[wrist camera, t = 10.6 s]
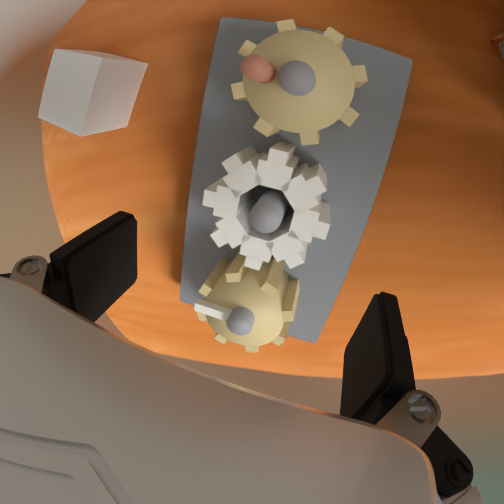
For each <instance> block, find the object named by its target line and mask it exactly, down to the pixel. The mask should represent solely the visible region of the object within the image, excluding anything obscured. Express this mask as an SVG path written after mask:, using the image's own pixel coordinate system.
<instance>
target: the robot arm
mask: <svg viewBox="0 0 504 504" xmlns="http://www.w3.org/2000/svg"><path fill="white" fill-rule="evenodd" d="M50 259H51V262H50V263H49V264H47V261H46V259H45V258H43V257H41V256H34V255H33V256H28V257H25V258H23V259H21V260H19V261H18V262H17V263H16V264H15V266H14V267H13V270H12V273H8V274H0V504H485V503H484V501H483V499H482V497H481V495H480V493H479V491H478V489H477V487H476V485H475V486H473V487H472V486H471V481H472V479H473V467H472V464H471V461H470V460H469V459H468V457H467V456H466V455H465V454H464V453H463V452H462V451H461V450H460V449H459V448H458V447H457V446H456V445H455V444H454V442H452V440H450V438H449V437H448V436H447V435H446V434H445V433H444V432H443V431H442V430H441V429H440V428H439V427H438V426H437V425H438V423H439V421H440V418H441V410H440V407H439V405H438V403H437V401H436V400H435V399H434V398H433V396H431V395H430V394H428V393H427V392H425V391H422V390H416V387H415V380H414V373H413V367H412V361H411V355H410V350H409V345H408V340H407V337H406V336H405V333H404V328H403V323H402V318H401V314H400V309H399V305H398V301H397V297H396V296H395V295H392V294H389V293H385V292H381V293H380V294H379V295H378V294H375V295H374V296H373V298H372V300H371V302H370V304H369V306H368V308H367V310H366V312H365V313H364V315H363V317H362V319H361V321H360V323H359V325H358V327H357V328H356V330H355V332H354V334H353V336H352V337H351V339H350V341H349V343H348V344H347V346H346V349H345V353H344V367H343V382H342V396H341V407H340V415H337V414H333V413H329V412H325V411H321V410H317V409H313V408H310V407H306V406H303V405H299V404H296V403H292V402H289V401H285V400H282V399H279V398H275V397H272V396H269V395H265V394H262V393H259V392H256V391H253V390H250V389H247V388H244V387H241V386H238V385H235V384H232V383H230V382H227V381H224V380H221V379H218V378H216V377H213V376H211V375H208V374H205V373H202V372H200V371H198V370H195V369H193V368H190V367H187V366H185V365H182V364H180V363H178V362H175V361H173V360H170V359H168V358H166V357H164V356H162V355H159V354H157V353H155V352H153V351H150V350H148V349H146V348H144V347H142V346H140V345H137V344H135V343H133V342H131V341H129V340H127V339H125V338H123V337H121V336H119V335H117V334H115V333H113V332H111V331H109V330H107V329H105V328H103V327H101V326H99V325H97V324H95V323H94V322H95V321H96V320H97V319H98V318H99V317H100V316H101V315H102V314H103V313H104V312H105V311H106V310H107V309H108V308H109V307H110V306H111V305H112V304H113V303H114V302H115V301H116V300H117V299H118V298H119V297H120V296H121V295H122V294H123V293H124V292H125V291H127V290H128V289H129V288H130V287H131V286H132V285H133V284H134V283H135V281H136V279H137V220H136V219H135V218H134V215H133V214H130V213H127V212H123V211H119V212H117V213H115V214H113V215H112V216H110V217H108V218H106V219H105V220H103V221H101V222H100V223H98V224H96V225H95V226H93V227H91V228H90V229H88V230H86V231H85V232H83V233H82V234H80V235H78V236H77V237H75V238H74V239H72V240H70V241H69V242H67V243H66V244H64V245H63V246H61V247H60V248H58V249H56V250H55V251H53V252H52V253H51V254H50Z"/></svg>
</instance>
